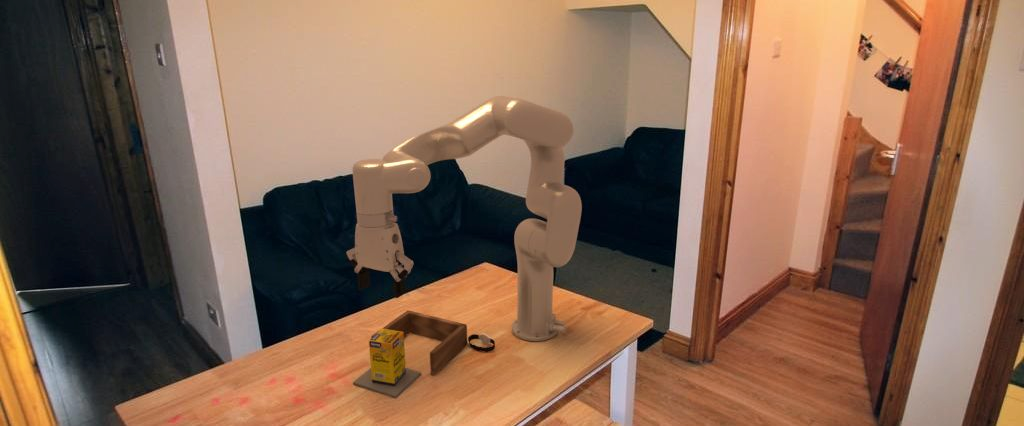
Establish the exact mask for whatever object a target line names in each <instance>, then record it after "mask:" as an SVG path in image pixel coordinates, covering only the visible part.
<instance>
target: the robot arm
mask: <svg viewBox="0 0 1024 426" xmlns="http://www.w3.org/2000/svg"><path fill="white" fill-rule="evenodd" d="M504 135H506V136H509V137H514V138H516V139H520V140H523V142H525V144H526V146H527V148H528V149H529V153H530V171H529V174H528V175H529V176H528V182H527V187H526V196H525V205H526V208H527V209H528V211H530V212H531V213H532V214H533V215H537V216H539V217H541V218H543V219H546V221H545V220H541V219H538V218H527V219H524V220H523V221H521V222H520V223H518V225H517V227H516V228H515V231H514V236H513V237H514V238H513V240H514V242H513V243H514V248H515V254H516V261H517V298H516V299H517V305H516V306H517V307H516V308H517V309H516V310H517V314H516V315H517V317H516V318H517V319H515V320H514V321H513V322H512V324H511V332H512V333H513V335H514V336H516V337H517V338H519V339H520V340H523V341H524V340H525V341H529V342H540V341H541V342H543V341H546V340H547V341H548V340H550V339H552V338H553V337H555V336H556V335H557V334H558V333H561V334H566V331H567V326H566V325H565V324H566V322H564V321H560V320H559V321H558V319H556V314H555V313H553V299H554V297H553V295H554V290H553V289H554V268H560V267H561V268H562V267H563V266H565V265H566V264H568V262H569V261H570V260H571V258H572V256H573V255H574V251H575V249H576V243H577V240H578V239H577V238H578V233H579V227H580V224H581V217H582V212H583V211H582V210H583V209H582V208H583V206H582V205H583V204H582V200H581V196H580V194H579V193H578V191H577V190H576V189H574V188H573V187H571V186H569V185H566V184H564V183H563V182H564V181H563V180H564V171H565V158H566V157H565V151H564V149H563V147H565V146H566V145H568V143H569V142H571V140H572V138H573V135H574V124H573V122H572V119H570V117H569V116H568V115H566V114H565V113H563V112H561V111H558V110H554V109H551V108H549V107H547V106H546V107H545V106H543V105H541V104H537V103H533V102H531V101H528V100H525V99H522V98H519V97H517V98H516V97H511V96H504V95H503V96H502V95H501V96H499V95H498V96H493V97H491V98H489V99H487V100H485V101H484V102H482V103H481V104H479V105H477V106H476V107H473V108H472V109H471V110H469V111H467V112H466V113H463V115H461V116H459V117H457V118H456V119H454V120H452V121H451V122H449V123H446V124H444V125H441V126H439V127H436V128H432V129H431V130H428V131H425V132H423V133H420V134H417V135H415V136H413V137H410V138H409V139H408V140H405V141H403V142H402V143H400V144H399V145H397V146H396V147H394V148H392V149H391V150H389V151H388V152H387V153H386V154H385V155H384V156H383V157H382V159H380V158H379V159H378V158H369V159H368V158H367V159H362V160H358V161H356V162H355V163H354V164H353V166H352V180H353V190H354V200H355V209H356V210H355V211H356V219H357V220H356V221H357V222H356V225H355V230H354V231H355V232H354V233H355V234H354V247H353V248H351V249H349V250H347V251H346V255H347V258H348V259H349V262H350V265H351V266H352V267H353V268H354V271H353V272H354V273H356V274H357V283H358V284H357V285H358V290H360V291H362V290H364V289H366V288H367V287H370V286H371V278H370V277H371V276H370V269H372V270H376V271H381V272H386V273H387V272H388V273H390V275H391V276H392V278H393V279H394V280H393V282H392V285H393V298H394V299H398V298H401V297H402V296H403V295H405V294H406V290H407V289H406V279H405V278H407V277H408V275H410V274H411V272H412V269H413V266H414V261H413V260H411V258H409V257H408V256H407V255H405V251H404V246H403V245H404V244H403V240H402V235H401V231H400V229H399V225H398V223H396V222H397V221H398V216H397V215H395V213H394V206H393V194H415V193H419V192H421V191H423V190H424V189H425V188H426V187H427V186H428V185H429V183H430V181H431V176H432V175H431V171H430V168H429V165H430V164H433V163H436V162H440V161H445V160H457V159H463V158H466V157H470V156H472V155H473V154H475V153H476V152H478V151H479V150H481V149H483V148H484V147H485V146H487V145H488V144H490V143H492V142H493V141H495V140H497V139H498V138H500V137H502V136H504Z"/></svg>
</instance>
